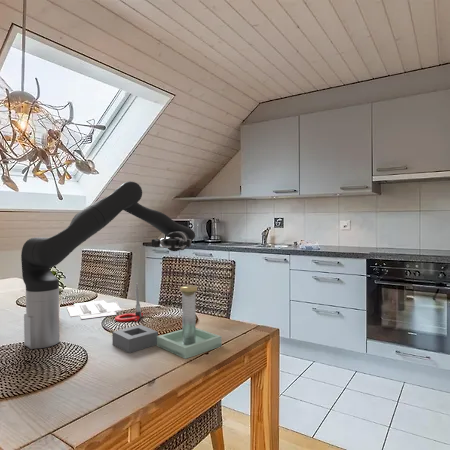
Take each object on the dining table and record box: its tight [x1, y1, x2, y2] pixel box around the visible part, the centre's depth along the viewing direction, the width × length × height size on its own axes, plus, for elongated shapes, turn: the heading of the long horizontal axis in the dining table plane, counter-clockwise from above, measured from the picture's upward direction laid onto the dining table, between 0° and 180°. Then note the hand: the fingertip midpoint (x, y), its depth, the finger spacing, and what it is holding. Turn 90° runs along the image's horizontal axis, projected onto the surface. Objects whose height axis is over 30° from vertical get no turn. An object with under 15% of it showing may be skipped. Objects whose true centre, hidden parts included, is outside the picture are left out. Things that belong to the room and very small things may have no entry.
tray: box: [156, 327, 223, 360], centre depth 110 cm, size 14×14×3 cm
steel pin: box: [179, 284, 198, 345], centre depth 110 cm, size 5×5×17 cm
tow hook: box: [114, 282, 144, 323], centre depth 140 cm, size 9×14×10 cm
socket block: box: [111, 324, 159, 354], centre depth 112 cm, size 10×10×4 cm
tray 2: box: [66, 299, 123, 320], centre depth 154 cm, size 20×28×4 cm
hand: (167, 244), depth 127 cm, fingers open, 8 cm apart
